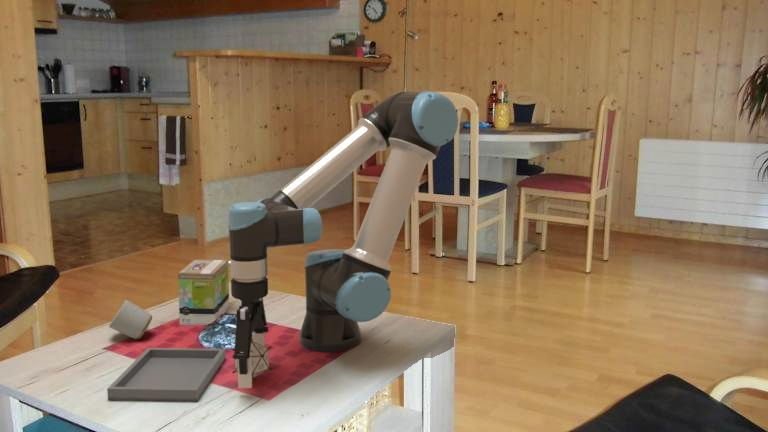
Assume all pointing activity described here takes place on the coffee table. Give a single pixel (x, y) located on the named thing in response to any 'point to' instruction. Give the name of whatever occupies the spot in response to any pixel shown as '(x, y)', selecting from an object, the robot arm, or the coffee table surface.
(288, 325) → the coffee table surface
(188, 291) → the tea box
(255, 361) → the game die
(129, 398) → the tray
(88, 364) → the coffee table surface
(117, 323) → the soft-edged grey cube
